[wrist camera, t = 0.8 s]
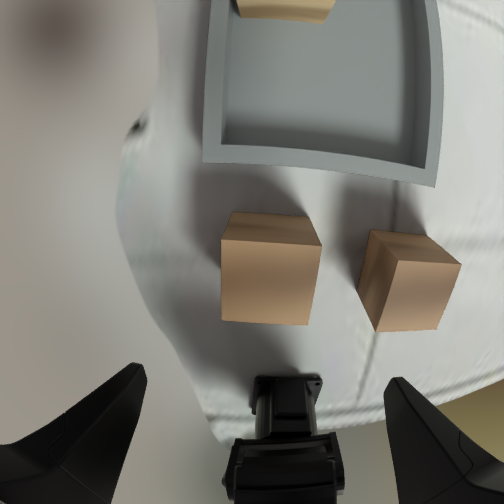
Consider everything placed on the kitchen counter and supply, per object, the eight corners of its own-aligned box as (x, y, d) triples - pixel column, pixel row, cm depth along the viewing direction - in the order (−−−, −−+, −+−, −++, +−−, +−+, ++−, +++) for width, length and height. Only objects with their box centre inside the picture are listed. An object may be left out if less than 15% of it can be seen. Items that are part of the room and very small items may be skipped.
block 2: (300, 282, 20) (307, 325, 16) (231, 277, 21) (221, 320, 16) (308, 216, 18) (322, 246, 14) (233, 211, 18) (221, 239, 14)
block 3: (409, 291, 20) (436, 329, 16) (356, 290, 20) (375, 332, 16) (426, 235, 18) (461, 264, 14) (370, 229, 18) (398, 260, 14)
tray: (416, 179, 17) (434, 187, 14) (210, 158, 17) (201, 162, 15) (416, -13, 10) (431, -25, 8) (225, -45, 10) (220, -63, 8)
